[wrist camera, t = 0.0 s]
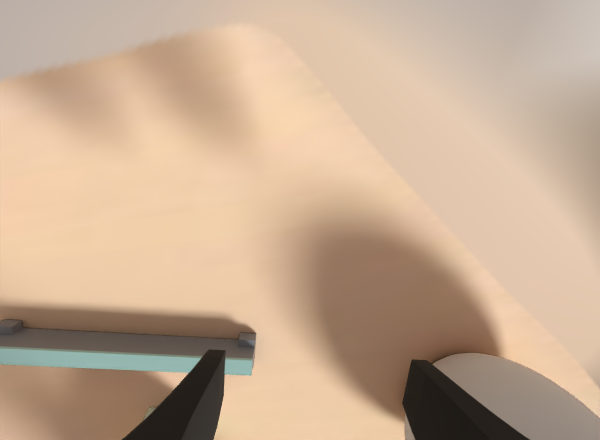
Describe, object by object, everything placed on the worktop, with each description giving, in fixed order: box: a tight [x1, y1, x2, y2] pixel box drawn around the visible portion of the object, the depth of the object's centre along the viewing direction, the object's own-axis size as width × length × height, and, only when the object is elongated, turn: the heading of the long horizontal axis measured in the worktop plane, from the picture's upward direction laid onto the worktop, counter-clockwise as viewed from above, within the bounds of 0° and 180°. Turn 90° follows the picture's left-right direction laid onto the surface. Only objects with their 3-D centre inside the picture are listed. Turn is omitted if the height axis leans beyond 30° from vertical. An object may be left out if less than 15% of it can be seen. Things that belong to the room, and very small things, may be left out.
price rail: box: [0, 320, 256, 375], centre depth 20 cm, size 2×18×2 cm, turn 84°
